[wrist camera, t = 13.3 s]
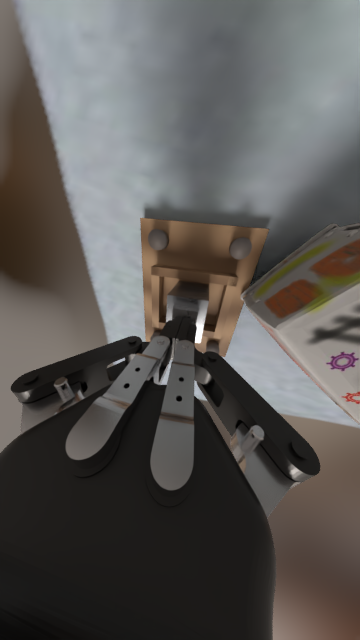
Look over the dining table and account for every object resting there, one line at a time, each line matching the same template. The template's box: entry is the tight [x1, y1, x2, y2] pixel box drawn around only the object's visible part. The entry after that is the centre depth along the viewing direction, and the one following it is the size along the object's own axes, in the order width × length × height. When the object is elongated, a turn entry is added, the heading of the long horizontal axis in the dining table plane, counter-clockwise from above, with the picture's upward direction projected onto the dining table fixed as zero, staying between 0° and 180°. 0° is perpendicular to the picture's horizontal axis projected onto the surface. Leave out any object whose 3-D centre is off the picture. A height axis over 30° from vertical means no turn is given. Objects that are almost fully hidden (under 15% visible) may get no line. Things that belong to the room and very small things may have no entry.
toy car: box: [241, 223, 360, 425], centre depth 15 cm, size 11×25×10 cm, turn 49°
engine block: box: [166, 281, 209, 343], centre depth 16 cm, size 5×4×7 cm
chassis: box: [140, 218, 269, 357], centre depth 19 cm, size 18×14×3 cm
